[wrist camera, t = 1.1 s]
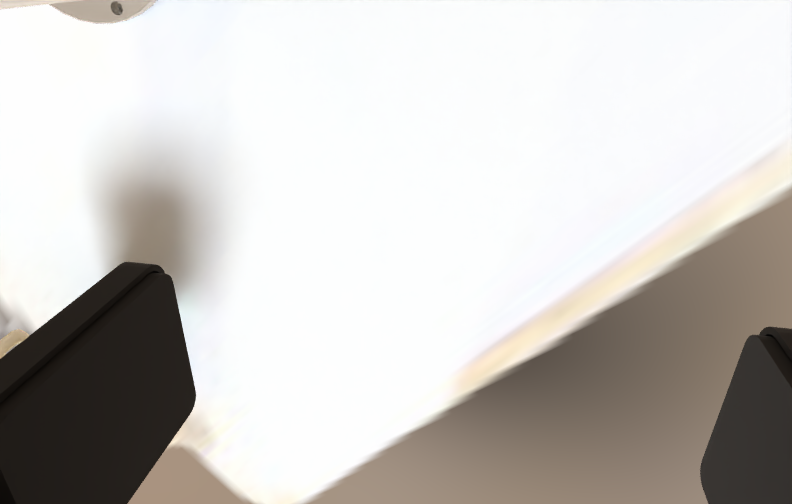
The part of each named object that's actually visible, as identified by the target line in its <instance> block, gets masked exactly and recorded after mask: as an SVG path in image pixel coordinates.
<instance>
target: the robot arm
mask: <svg viewBox="0 0 792 504" xmlns="http://www.w3.org/2000/svg"><path fill="white" fill-rule="evenodd" d="M156 1H157V0H0V9H8V8H17V7H27V6H36V5H45V4H49V5H50V6H52V7H54V8H55V9H57V10H58V11H60V12H62V13H63V14H65V15H68V16H70V17H73V18H75V19H78V20H80V21H85V22H91V23H96V24H102V23H116V22H121V21H127V20H129V19H131V18H134V17H136V16H139V15H141V14H142V13H143V12H145V11H146V10H147V9H149V8H150V7H151V6H153V5H154V3H155V2H156ZM122 8H123V9H122ZM195 399H196V391H195V386H194V381H193V376H192V372H191V367H190V362H189V357H188V352H187V347H186V343H185V338H184V333H183V328H182V323H181V318H180V314H179V309H178V304H177V299H176V294H175V289H174V284H173V281H172V278H171V277H170V276H169V275H167V274H165V273H164V270H163V269H162V268H161V267H160V266H158V265H154V264H144V263H134V262H124V263H122V264H120V265H119V266H118V267H116V268H115V269H114V270H113V271H111V272H110V273H109V274H107V275H106V276H105V277H104V278H102V279H101V280H100V281H99V282H97V283H96V284H95V285H93V286H92V287H91V288H90V289H88V290H87V291H86V292H85V293H83V294H82V295H81V296H80V297H78V298H77V299H76V300H74V301H73V302H72V303H71V304H69V305H68V306H67V307H66V308H64V309H63V310H62V311H60V312H59V313H58V314H57V315H55V316H54V317H53V318H52V319H50V320H49V321H48V322H47V323H45V324H44V325H43V326H41V327H40V328H39V329H38V330H36V331H35V332H34V333H33V334H31V335H30V336H29V337H27V338H26V339H25V340H24V341H22V342H21V343H20V344H19V345H17V346H16V347H15V348H14V349H12V350H11V351H10V352H8V353H7V354H6V355H5V356H3V357H2V358H1V359H0V504H127V503H128V502H129V500H130V499H131V498H132V496H133V495H134V493H135V492H136V490H137V489H138V488H139V486H140V485H141V483H142V481H144V479H145V478H146V476H147V475H148V473H149V472H150V471H151V469H152V468H153V466H154V465H155V463H156V462H157V461H158V459H159V458H160V456H161V455H162V453H163V452H164V451H165V449H166V448H167V446H168V445H169V443H170V442H171V441H172V439H173V438H174V436H175V435H176V433H177V432H178V431H179V429H180V428H181V426H182V425H183V423H184V422H185V421H186V419H187V418H188V416H189V415H190V413H191V412H192V410H193V407H194V404H195ZM700 472H701V473H700V474H701V483H702V487H703V490H704V492H705V495H706V498H707V501H708V503H709V504H792V329H787V328H777V327H766V328H764V329H763V330H762V331H761V332H760V334H759V335H751V336H749V338H748V339H747V341H746V342H745V345H744V348H743V350H742V353H741V356H740V359H739V361H738V364H737V367H736V369H735V372H734V375H733V377H732V380H731V383H730V386H729V388H728V391H727V394H726V397H725V399H724V402H723V405H722V408H721V410H720V413H719V416H718V419H717V421H716V424H715V426H714V430H713V432H712V435H711V437H710V440H709V443H708V446H707V449H706V451H705V454H704V457H703V459H702V463H701V470H700Z"/></svg>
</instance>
